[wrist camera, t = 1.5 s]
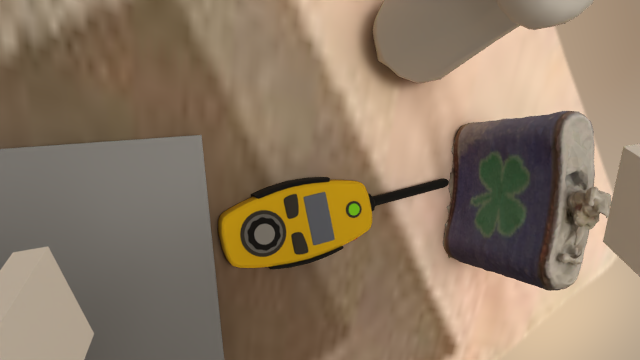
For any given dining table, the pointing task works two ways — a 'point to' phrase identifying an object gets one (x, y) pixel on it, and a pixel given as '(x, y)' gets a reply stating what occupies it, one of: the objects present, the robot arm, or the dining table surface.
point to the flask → (524, 197)
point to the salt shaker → (455, 30)
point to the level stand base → (122, 240)
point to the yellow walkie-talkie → (301, 221)
